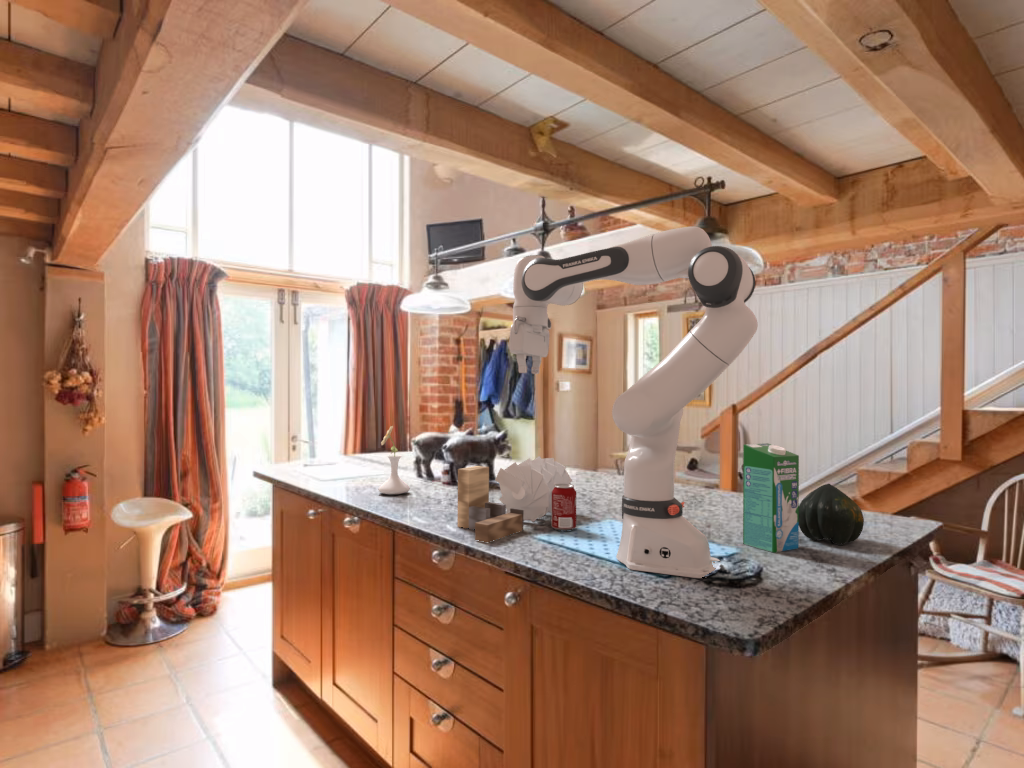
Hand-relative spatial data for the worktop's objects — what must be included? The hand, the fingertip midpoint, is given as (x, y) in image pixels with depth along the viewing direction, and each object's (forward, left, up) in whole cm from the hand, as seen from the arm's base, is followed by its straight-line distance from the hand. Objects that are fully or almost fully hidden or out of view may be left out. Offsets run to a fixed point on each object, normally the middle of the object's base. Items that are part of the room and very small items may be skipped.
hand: (529, 373), depth 151 cm
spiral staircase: (+13, -23, -43) cm, 50 cm away
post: (+18, -3, -42) cm, 46 cm away
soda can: (-2, -14, -43) cm, 45 cm away
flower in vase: (+74, -23, -43) cm, 88 cm away
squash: (-63, -44, -43) cm, 88 cm away
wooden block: (+8, +2, -43) cm, 43 cm away
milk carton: (-52, -29, -43) cm, 74 cm away
